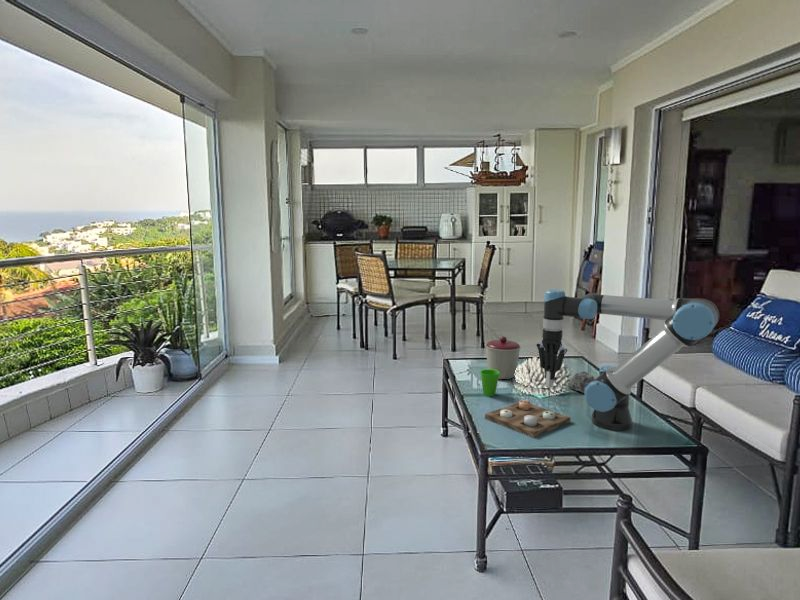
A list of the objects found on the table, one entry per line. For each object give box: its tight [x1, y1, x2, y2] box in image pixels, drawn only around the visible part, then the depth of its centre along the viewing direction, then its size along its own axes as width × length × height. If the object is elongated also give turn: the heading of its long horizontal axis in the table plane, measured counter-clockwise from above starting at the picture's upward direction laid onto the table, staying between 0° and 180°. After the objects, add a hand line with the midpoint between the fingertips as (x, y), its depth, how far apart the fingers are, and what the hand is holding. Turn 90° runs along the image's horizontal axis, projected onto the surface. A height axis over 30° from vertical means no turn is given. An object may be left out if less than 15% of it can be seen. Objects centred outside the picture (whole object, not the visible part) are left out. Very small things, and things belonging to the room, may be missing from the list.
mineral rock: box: [567, 370, 596, 394], centre depth 256 cm, size 13×11×10 cm
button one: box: [500, 410, 512, 419], centre depth 221 cm, size 5×5×3 cm
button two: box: [543, 410, 555, 421], centre depth 219 cm, size 5×5×3 cm
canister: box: [484, 335, 522, 380], centre depth 275 cm, size 18×18×21 cm
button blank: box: [524, 415, 537, 428], centre depth 211 cm, size 5×5×3 cm
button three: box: [518, 399, 532, 412], centre depth 228 cm, size 5×5×3 cm
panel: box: [484, 401, 571, 438], centre depth 220 cm, size 24×24×2 cm
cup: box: [479, 368, 500, 397], centre depth 249 cm, size 9×9×11 cm
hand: (549, 386), depth 217 cm, fingers closed
